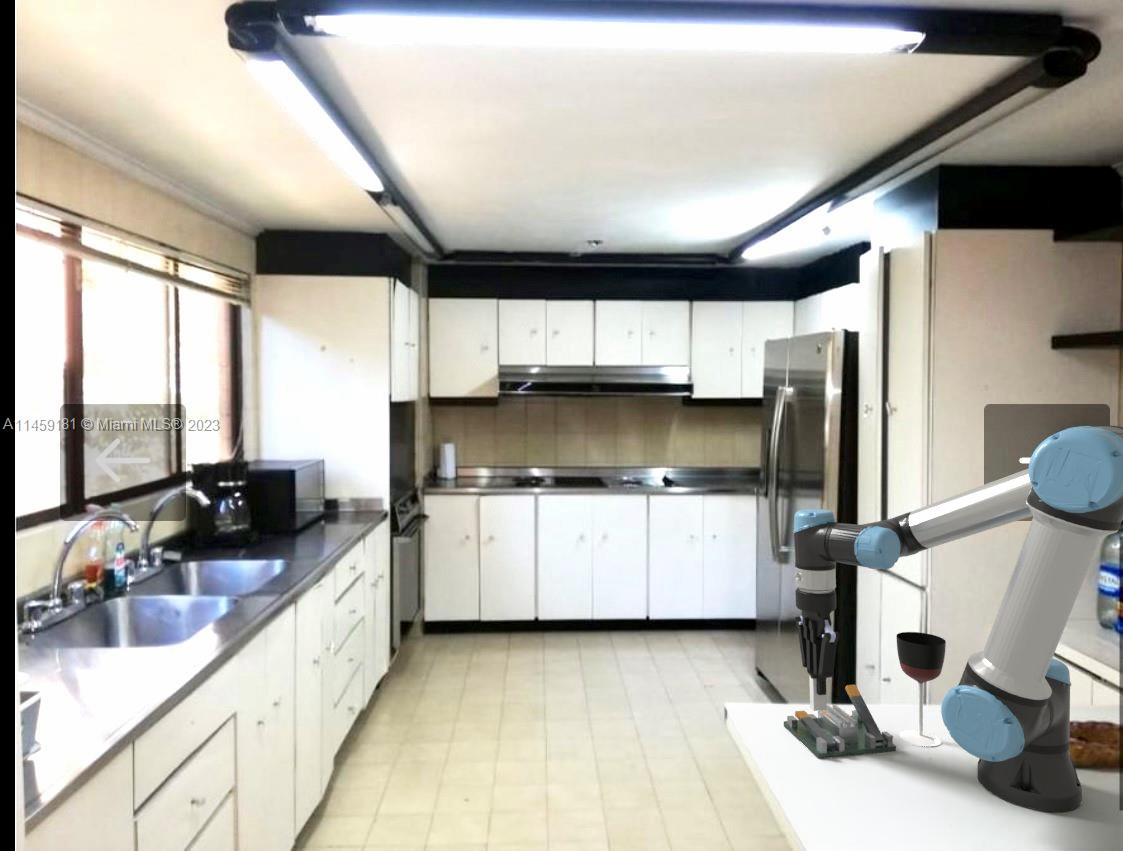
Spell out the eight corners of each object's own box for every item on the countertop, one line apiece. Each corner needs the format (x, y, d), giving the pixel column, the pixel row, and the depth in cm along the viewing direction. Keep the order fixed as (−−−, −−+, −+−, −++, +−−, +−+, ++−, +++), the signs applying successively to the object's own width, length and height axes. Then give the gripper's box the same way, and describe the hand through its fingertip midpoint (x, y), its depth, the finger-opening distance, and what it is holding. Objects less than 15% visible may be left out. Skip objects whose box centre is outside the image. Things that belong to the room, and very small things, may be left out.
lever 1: (835, 747, 136) (835, 743, 136) (825, 748, 136) (825, 743, 136) (804, 715, 148) (804, 710, 148) (795, 715, 148) (795, 711, 148)
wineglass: (943, 752, 137) (944, 647, 136) (893, 741, 142) (894, 640, 141) (946, 735, 144) (947, 636, 143) (898, 725, 148) (899, 629, 148)
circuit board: (896, 751, 137) (896, 725, 137) (818, 758, 135) (818, 732, 135) (854, 719, 151) (855, 696, 151) (783, 726, 149) (783, 702, 149)
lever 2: (882, 742, 138) (884, 739, 138) (873, 743, 138) (874, 740, 137) (853, 687, 148) (855, 684, 147) (844, 688, 147) (846, 685, 147)
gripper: (782, 582, 147) (785, 698, 147) (814, 597, 134) (817, 724, 134) (816, 580, 148) (819, 694, 148) (851, 595, 135) (854, 720, 135)
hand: (818, 708), depth 141 cm, fingers closed
